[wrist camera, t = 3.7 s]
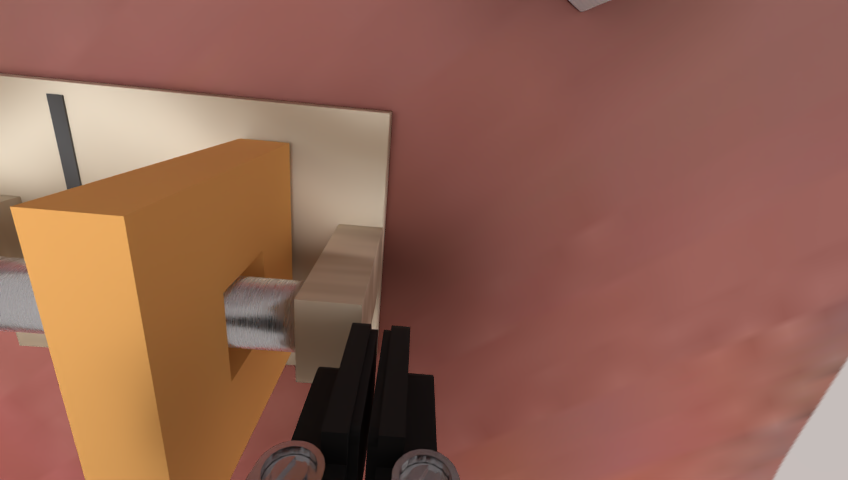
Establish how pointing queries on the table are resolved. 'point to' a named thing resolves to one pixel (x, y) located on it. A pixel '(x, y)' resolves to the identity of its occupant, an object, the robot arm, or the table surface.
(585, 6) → the hard drive box
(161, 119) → the pipe stand
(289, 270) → the collar
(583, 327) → the table surface
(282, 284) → the pipe
